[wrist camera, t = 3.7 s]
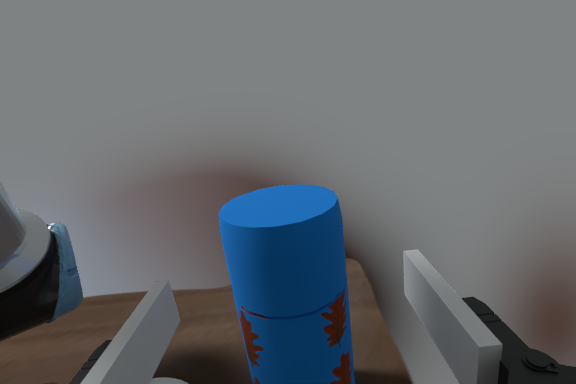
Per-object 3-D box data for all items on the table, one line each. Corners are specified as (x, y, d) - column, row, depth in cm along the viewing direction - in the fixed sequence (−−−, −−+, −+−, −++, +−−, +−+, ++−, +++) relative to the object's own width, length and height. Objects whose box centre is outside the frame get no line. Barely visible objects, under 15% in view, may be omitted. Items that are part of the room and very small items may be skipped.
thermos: (242, 409, 34) (195, 210, 27) (307, 352, 41) (284, 179, 33) (308, 493, 26) (267, 242, 19) (376, 407, 33) (365, 193, 25)
